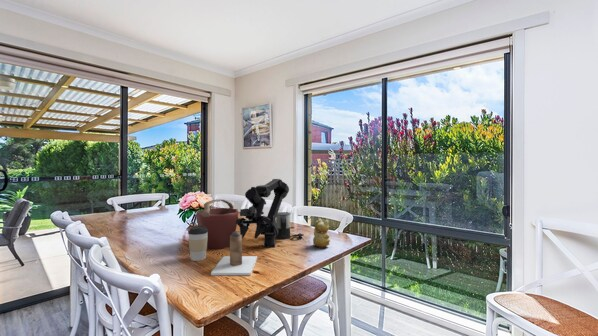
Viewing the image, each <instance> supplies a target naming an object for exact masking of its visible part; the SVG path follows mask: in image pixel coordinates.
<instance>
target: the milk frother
mask: <svg viewBox="0 0 598 336" xmlns="http://www.w3.org/2000/svg"><path fill="white" fill-rule="evenodd" d="M291 214H292V213H291V212H288V211H287V212H286V211H283V212H282V211H280V212H279V211H278V214H277V216H276V219H275V221H276V224H277V225H276V226H277V228H278V230H279V231H278V235H276V236H275V239H278V240H279V239H280V240H287V239H290V238H293V237H294V238H296V237H297V238H299V237H301V238H302V237H304V236H305V234H304V233H300V232H299V233H297V234H291Z"/></svg>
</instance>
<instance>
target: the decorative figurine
mask: <svg viewBox="0 0 598 336" xmlns="http://www.w3.org/2000/svg"><path fill="white" fill-rule="evenodd" d="M329 223H330V221H329V220H328V219H325V220H324V221H323V220H322V218H318V220H316V221H315V223H314V229H313V238H312V242H313V243H312V244H313V245H314V247H315V246H316V247H315V248H319V247H320V249H324V248H326V246H327V247H328V246H330V242H331V239H330V234H329V233H328V231H329V229H330V226H329ZM323 247H324V248H323Z"/></svg>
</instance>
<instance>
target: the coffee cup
mask: <svg viewBox="0 0 598 336" xmlns="http://www.w3.org/2000/svg"><path fill="white" fill-rule="evenodd" d="M187 234H188V249H189V250H188V251H189V257H190V260H191V261H193V262H194V261H195V262H198V261H203V260H205V259H206V258H207V250H208V249H207V239H208V236H207V234H208V229H207V228H206V227H204V226H198V225H197V226H191V227H190V229H189V230H187Z"/></svg>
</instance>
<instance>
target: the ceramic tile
mask: <svg viewBox="0 0 598 336" xmlns="http://www.w3.org/2000/svg"><path fill="white" fill-rule="evenodd" d="M257 260H258V256H257V255H247V256H246V255H242V264H241V265H238V266H232V265H230V255H228V256H226V255H223V256H222V258H220V260H219V262H218V263H217V264H216V265H215V267H214V268H213V269H212V270H211V272H210V276H251V275H252V273H253V271H254V268H255V265H256V262H257Z"/></svg>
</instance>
